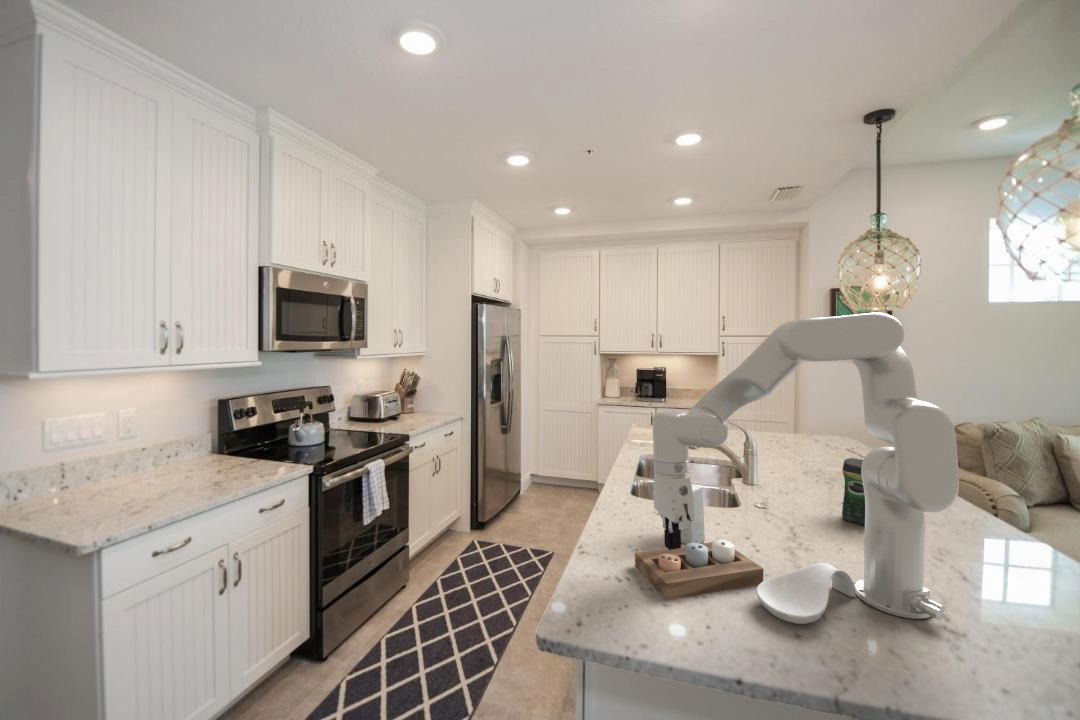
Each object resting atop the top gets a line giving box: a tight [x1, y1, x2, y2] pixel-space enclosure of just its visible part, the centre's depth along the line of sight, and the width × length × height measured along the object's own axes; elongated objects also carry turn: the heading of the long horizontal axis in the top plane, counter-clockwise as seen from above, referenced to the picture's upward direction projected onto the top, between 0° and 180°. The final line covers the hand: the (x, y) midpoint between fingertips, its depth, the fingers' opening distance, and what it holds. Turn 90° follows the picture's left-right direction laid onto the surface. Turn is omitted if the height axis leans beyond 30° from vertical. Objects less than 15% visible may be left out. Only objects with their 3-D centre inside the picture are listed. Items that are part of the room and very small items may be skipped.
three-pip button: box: [659, 554, 681, 572], centre depth 97 cm, size 5×5×5 cm
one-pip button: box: [711, 539, 735, 564], centre depth 100 cm, size 5×5×5 cm
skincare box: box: [681, 483, 706, 545], centre depth 117 cm, size 8×6×15 cm
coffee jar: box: [841, 457, 865, 526], centre depth 128 cm, size 10×8×19 cm
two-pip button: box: [685, 543, 708, 568], centre depth 99 cm, size 5×5×5 cm
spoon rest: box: [755, 562, 857, 625], centre depth 87 cm, size 24×12×7 cm, turn 116°
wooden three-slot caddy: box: [634, 541, 764, 601], centre depth 99 cm, size 14×24×4 cm, turn 104°
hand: (672, 547), depth 97 cm, fingers closed
